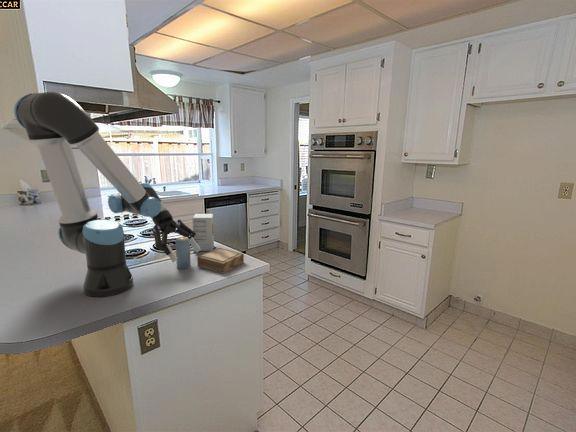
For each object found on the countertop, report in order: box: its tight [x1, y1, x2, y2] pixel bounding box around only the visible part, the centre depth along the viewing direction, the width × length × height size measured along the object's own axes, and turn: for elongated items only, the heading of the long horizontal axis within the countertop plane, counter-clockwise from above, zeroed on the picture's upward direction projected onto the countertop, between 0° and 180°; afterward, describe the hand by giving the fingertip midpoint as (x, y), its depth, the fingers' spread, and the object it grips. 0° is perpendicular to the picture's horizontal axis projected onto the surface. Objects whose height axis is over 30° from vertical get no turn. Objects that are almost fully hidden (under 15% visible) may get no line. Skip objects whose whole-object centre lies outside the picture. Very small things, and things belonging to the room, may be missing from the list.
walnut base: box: [197, 247, 245, 274], centre depth 131 cm, size 14×14×4 cm
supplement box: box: [192, 213, 215, 252], centre depth 147 cm, size 10×9×17 cm
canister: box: [175, 236, 192, 270], centre depth 125 cm, size 6×6×13 cm
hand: (187, 255), depth 124 cm, fingers open, 12 cm apart
